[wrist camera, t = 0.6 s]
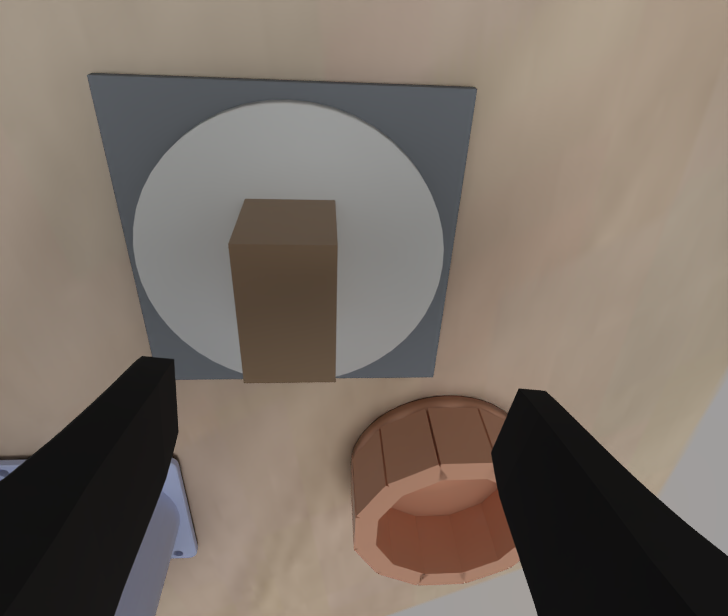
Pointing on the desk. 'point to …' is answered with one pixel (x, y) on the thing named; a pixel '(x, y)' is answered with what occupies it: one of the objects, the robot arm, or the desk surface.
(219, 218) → the lid
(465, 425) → the bowl
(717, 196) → the desk surface
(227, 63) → the desk surface
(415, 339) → the mat
